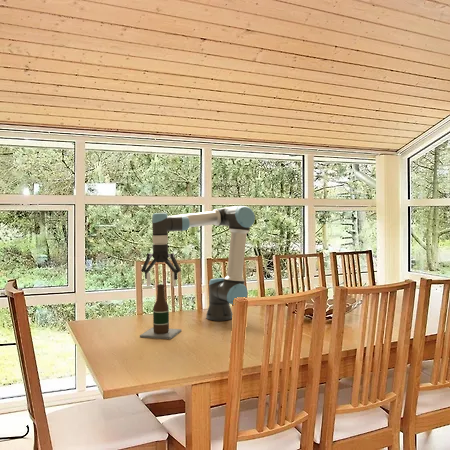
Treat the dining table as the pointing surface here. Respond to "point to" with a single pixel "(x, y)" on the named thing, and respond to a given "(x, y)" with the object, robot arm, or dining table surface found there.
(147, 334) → the slate trivet
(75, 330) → the dining table surface
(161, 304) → the beer bottle
